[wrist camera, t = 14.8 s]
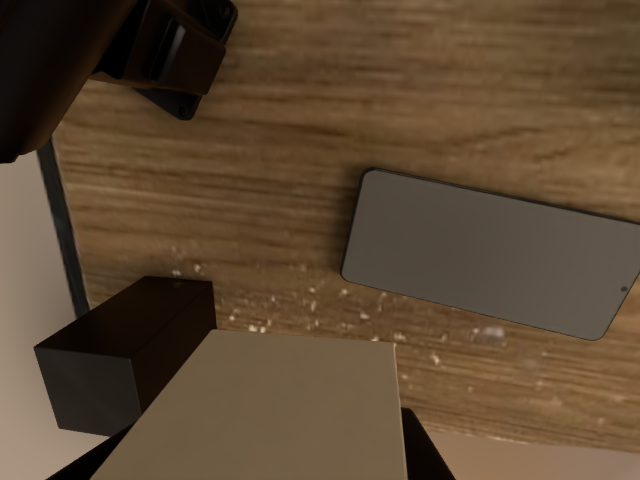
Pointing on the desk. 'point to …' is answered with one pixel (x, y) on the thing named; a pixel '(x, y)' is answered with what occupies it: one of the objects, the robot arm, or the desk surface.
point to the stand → (124, 353)
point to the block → (271, 414)
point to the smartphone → (491, 253)
